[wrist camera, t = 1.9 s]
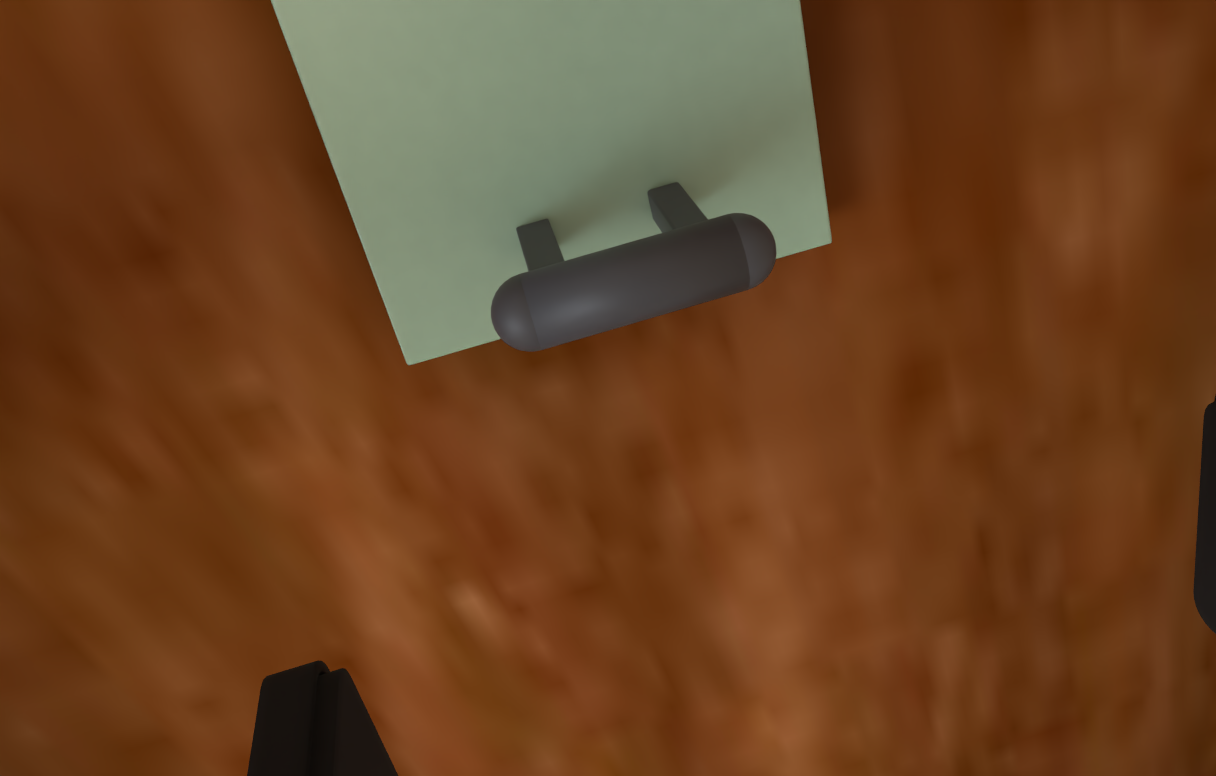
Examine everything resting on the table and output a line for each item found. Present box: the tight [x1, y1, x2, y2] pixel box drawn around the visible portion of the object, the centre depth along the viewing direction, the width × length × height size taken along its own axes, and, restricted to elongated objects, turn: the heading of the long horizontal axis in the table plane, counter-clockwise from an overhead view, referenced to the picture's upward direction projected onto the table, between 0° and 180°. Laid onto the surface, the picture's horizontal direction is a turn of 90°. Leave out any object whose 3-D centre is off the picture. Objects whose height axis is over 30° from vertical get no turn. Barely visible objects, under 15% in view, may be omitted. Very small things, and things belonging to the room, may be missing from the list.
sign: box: [271, 0, 832, 365], centre depth 21 cm, size 13×11×6 cm
